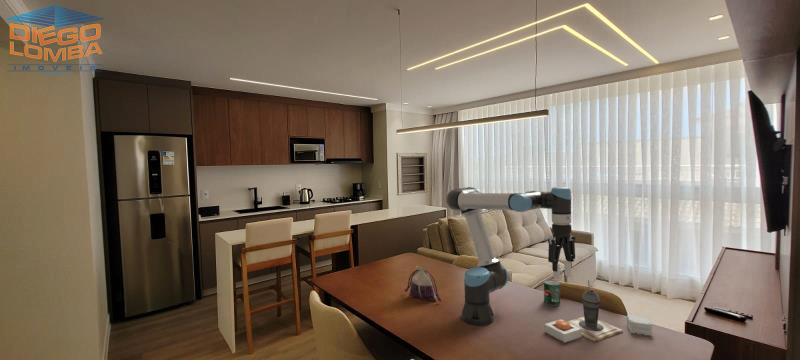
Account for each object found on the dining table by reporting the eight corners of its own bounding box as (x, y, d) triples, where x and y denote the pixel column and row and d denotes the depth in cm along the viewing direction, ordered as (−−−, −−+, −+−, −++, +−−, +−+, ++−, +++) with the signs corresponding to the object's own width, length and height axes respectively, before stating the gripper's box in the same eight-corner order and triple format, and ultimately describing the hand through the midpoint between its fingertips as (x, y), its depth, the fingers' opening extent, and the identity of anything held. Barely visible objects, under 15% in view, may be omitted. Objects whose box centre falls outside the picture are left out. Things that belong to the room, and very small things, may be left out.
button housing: (564, 342, 136) (564, 334, 136) (545, 331, 145) (544, 324, 145) (581, 337, 140) (581, 328, 140) (561, 326, 149) (561, 319, 149)
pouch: (399, 297, 189) (398, 264, 188) (407, 292, 196) (406, 260, 195) (439, 305, 176) (438, 270, 175) (446, 300, 183) (445, 266, 182)
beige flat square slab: (594, 341, 136) (594, 338, 135) (561, 325, 150) (561, 322, 150) (622, 332, 143) (622, 328, 143) (588, 317, 157) (588, 314, 157)
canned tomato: (540, 301, 177) (540, 281, 177) (550, 298, 181) (550, 278, 180) (553, 307, 170) (553, 285, 170) (563, 303, 174) (563, 283, 173)
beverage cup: (591, 330, 142) (590, 284, 141) (577, 323, 149) (577, 279, 148) (604, 328, 144) (604, 282, 143) (590, 320, 151) (590, 277, 150)
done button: (563, 332, 138) (563, 327, 138) (552, 326, 144) (552, 322, 144) (573, 329, 141) (573, 324, 141) (561, 323, 146) (561, 319, 146)
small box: (648, 328, 146) (647, 317, 145) (652, 336, 139) (652, 324, 138) (626, 325, 149) (626, 314, 149) (629, 333, 142) (629, 321, 142)
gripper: (552, 227, 133) (553, 283, 134) (585, 222, 141) (585, 276, 142) (537, 224, 140) (538, 278, 141) (569, 220, 148) (570, 271, 149)
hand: (562, 277), depth 141 cm, fingers open, 6 cm apart
